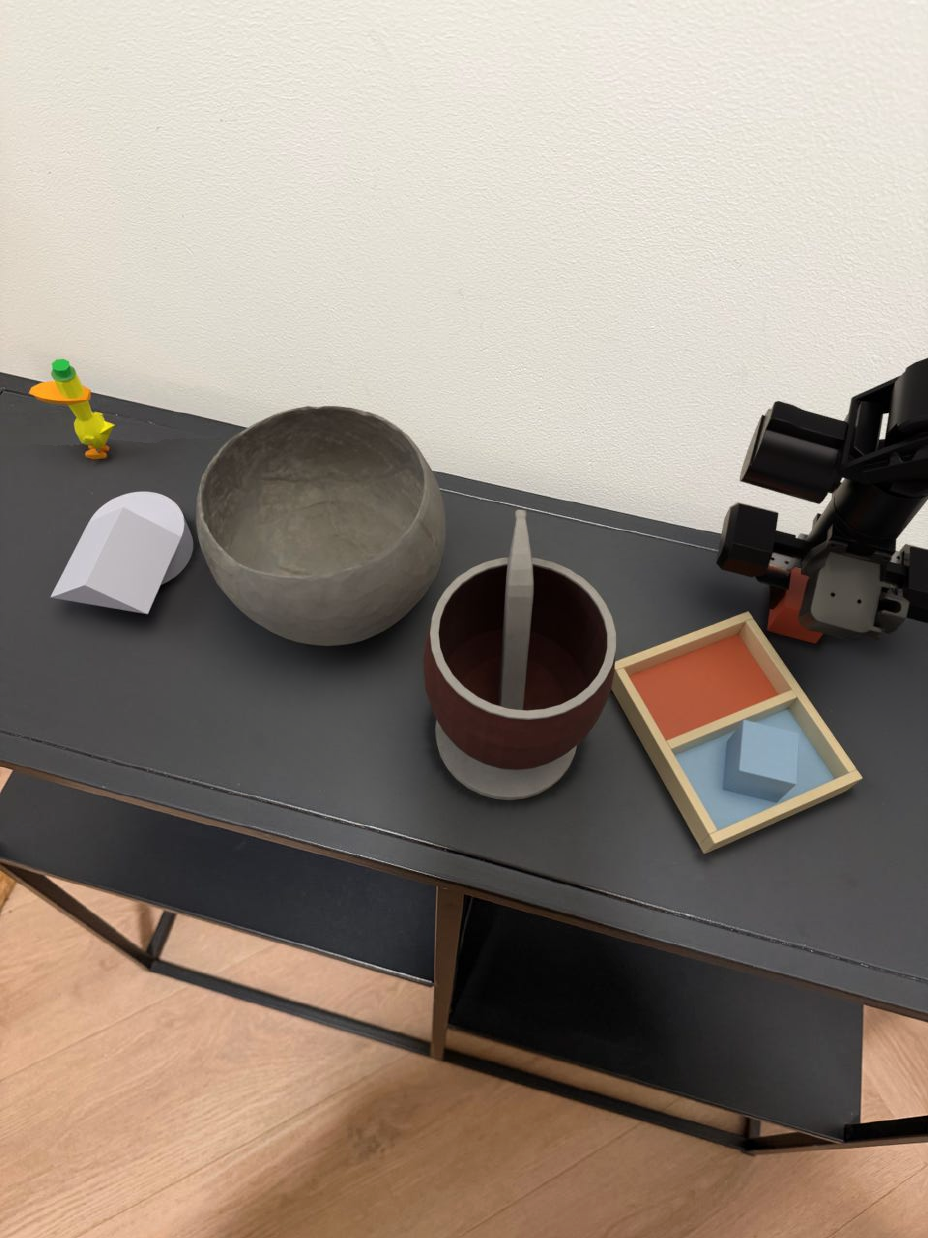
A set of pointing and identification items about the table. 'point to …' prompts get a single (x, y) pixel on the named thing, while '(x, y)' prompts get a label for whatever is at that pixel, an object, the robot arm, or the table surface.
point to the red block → (792, 611)
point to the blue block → (761, 761)
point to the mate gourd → (517, 671)
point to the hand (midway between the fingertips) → (797, 612)
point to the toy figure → (76, 407)
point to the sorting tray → (725, 726)
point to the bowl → (322, 524)
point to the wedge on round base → (127, 553)
